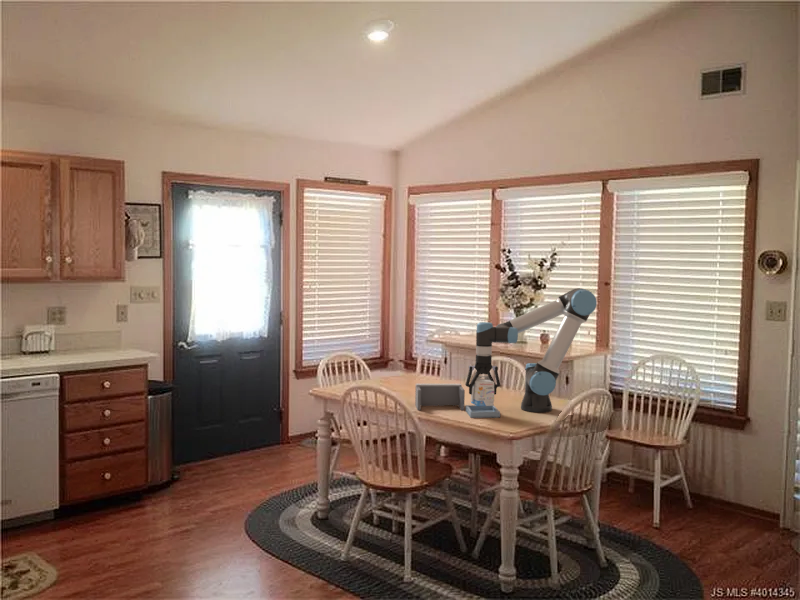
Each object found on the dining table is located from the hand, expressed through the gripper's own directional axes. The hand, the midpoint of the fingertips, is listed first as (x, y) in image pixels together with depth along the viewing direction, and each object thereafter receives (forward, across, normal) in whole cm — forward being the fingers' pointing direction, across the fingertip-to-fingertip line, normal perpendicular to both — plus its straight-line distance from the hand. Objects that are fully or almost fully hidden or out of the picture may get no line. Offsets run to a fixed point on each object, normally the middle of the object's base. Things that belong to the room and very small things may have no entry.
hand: (482, 401), depth 341 cm
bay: (+6, +19, -14) cm, 25 cm away
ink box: (+2, 0, 0) cm, 2 cm away
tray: (+6, 0, 0) cm, 6 cm away
